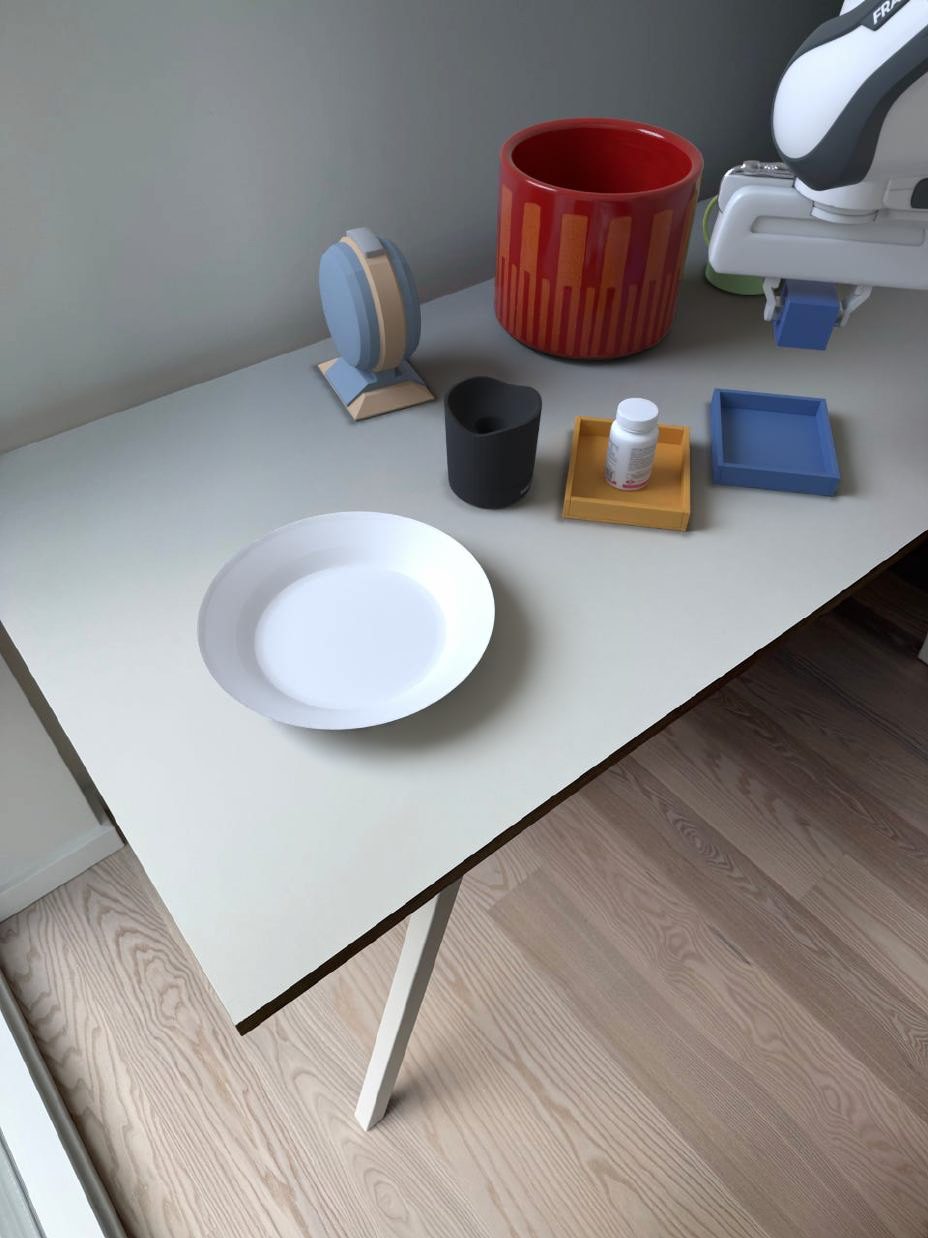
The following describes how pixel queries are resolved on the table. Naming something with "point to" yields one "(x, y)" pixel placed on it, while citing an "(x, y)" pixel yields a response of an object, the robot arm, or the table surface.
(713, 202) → the mug
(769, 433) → the blue tray
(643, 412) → the pill bottle
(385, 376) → the alarm clock
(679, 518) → the amber tray
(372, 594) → the white plate
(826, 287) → the blue block
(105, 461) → the table surface
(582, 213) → the planter
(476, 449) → the pen holder
